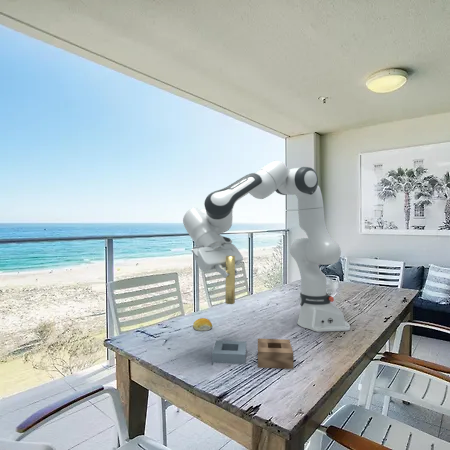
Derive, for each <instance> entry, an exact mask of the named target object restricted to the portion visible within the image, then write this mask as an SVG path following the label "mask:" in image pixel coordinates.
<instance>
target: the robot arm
mask: <svg viewBox="0 0 450 450" xmlns="http://www.w3.org/2000/svg"><path fill="white" fill-rule="evenodd" d="M318 184H319V177H318V174H317V172H316V171H315V169H314V168H312V167H309V166H301V167H293V168H290V169H289V168H288V167H287V165H286V164H285V163H284V162H283V161H281V160H273V161H271V162H268V163H267V164H265V165H263V166H262V167H259V169H257V170H256V171H255V172H252V173H249V174H245V175H244V176H242V177H240V178H239V179H237V180H236V181H234V182H233V183H231V184H229V185H228V186H226V187H223V188H221V189H218V190H215V191H212V192H210V193H209V194H208V195H207V196H206V198H205V200H204V203H203V204H204V208H198V207H191V208H190V209H189V210H187V211H186V213H185V214H184V215H183V218H182V223H183V227H184V229H185V231H186V232H187V234H188V235H189V237H190V238H191V239H192V240H193V241H194V244H195V246H193V247H192V248H191V253H192V254H193V257H194V260H195V262H196V264H197V266H198V268H199V269H200V270H201V271H202V272H206V271H210V270H212V271H213V270H215V271H216V272H217V273H219V274H220V275H221V276H222V277H223V278H224V279H226V278H227V277H228V276H229V275H230V274H229V273H228V271H226V269H225V268H226V256H235V277H236V276H237V275H238V274H239V271H238V270H237V268H236V267H237V266H238V265H240V264H241V263H242V261H243V260H244V256H243V255H242V253H241V252H240V250H239V248H238V247H236V245H235V244H233V240H232V238H231V237H227V236H223V235H222V234H223V233H225V232H228V231H229V230H230V229H231V227H232V225H233V212H234V211H233V209H234V207H235V204H236V203H237V202H238V201H239V200H241V199H242V198H244V197H245V196H247V195H248V194H249V195H250V196H252V197H253V198H254V199H258V200H263V199H264V200H265V199H266V198H268V197H269V196H271V195H272V194H273V193H274V192H276V193H277V194H279V195H282V196H287V195H289V196H290V195H292V196H293V195H295V197H296V198H297V211H298V221H299V222H298V224H299V227H300V228H301V230H303V231H304V232H305V233H306V236H307V237H303V238H302V237H301V238H297V239H294V240H292V241H291V244H290V247H289V253H290V255H291V257H292V258H293V259H294V261H295V262H296V264H297V267H298V269H299V270H298V271H299V274H300V290H301V291H300V293H299V294H300V295H299V304H300V307H299V316H298V318H297V319H298V320H297V325H298V326H300V327H301V328H304V329H308V330H311V331H313V332H318V333H319V332H321V333H322V332H339V331H340V332H342V331H343V332H345V331H350V330H351V325H350V324H349V322H348V321H346V320H345V316H344V313H343V311H341V309H339V308H338V307H337V306H336V305H335V304H333V302H334V301H335V299H334V297H333V296H331V295H330V294H328V293H327V286H328V285H327V279H328V278H327V276H326V275H325V273H324V272H323V271H322V270H321V268H320V266H319V265H324V266H325V265H326V266H328V265H335V264H337V263H338V262H339V260H340V259H341V252H342V251H341V247H340V244H338V243H337V242H336V241H335V240H334V239H333V238H332V236H331V234H330V233H329V231H328V228H327V225H326V219H325V218H326V217H325V208H324V207H325V206H324V200H323V194H322V191H321V190H322V189H321V187H320V185H318Z"/></svg>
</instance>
